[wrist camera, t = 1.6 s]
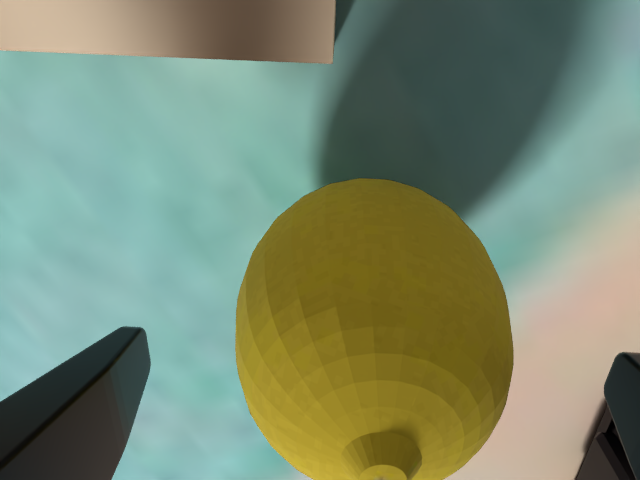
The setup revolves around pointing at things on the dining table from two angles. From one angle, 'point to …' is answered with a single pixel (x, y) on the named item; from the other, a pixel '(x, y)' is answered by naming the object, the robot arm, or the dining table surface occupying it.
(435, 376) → the lemon
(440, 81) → the dining table surface
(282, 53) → the arena
